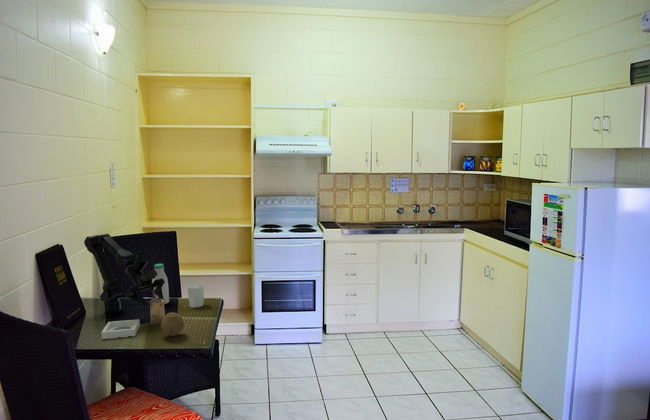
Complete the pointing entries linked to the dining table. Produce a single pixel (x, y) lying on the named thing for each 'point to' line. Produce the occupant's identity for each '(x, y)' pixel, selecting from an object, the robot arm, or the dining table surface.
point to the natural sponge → (172, 323)
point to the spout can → (157, 311)
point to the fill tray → (120, 329)
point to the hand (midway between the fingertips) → (154, 302)
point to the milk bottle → (160, 274)
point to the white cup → (196, 295)
